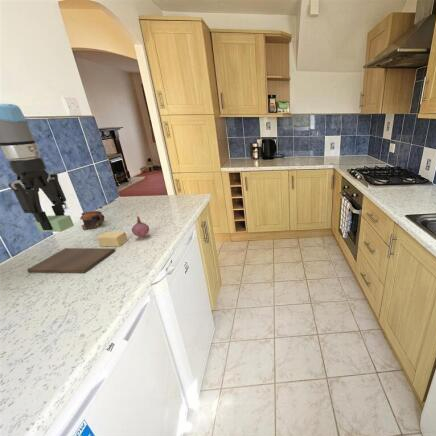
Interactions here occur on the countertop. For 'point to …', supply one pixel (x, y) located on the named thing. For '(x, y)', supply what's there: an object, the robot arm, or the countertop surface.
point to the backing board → (72, 260)
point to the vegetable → (140, 228)
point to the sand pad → (112, 239)
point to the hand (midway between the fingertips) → (55, 226)
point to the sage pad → (57, 223)
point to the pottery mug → (92, 219)
